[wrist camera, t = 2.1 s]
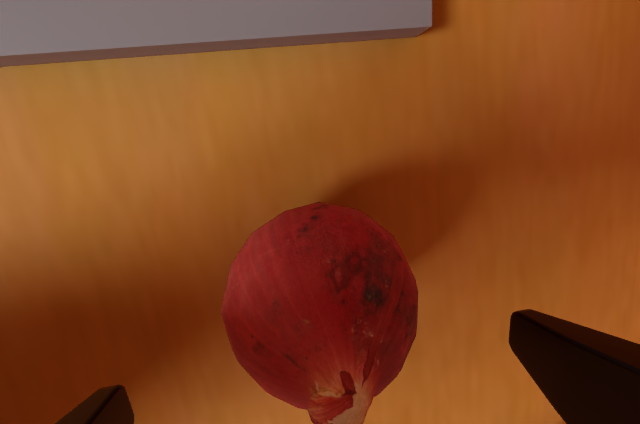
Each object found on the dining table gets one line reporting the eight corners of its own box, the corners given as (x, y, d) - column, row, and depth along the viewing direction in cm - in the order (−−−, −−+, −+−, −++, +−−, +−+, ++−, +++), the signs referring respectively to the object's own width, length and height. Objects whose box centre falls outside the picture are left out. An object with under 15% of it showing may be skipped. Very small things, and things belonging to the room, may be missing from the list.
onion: (293, 155, 12) (326, 202, 4) (398, 233, 14) (558, 368, 6) (212, 269, 13) (119, 478, 5) (320, 330, 14) (373, 561, 7)
